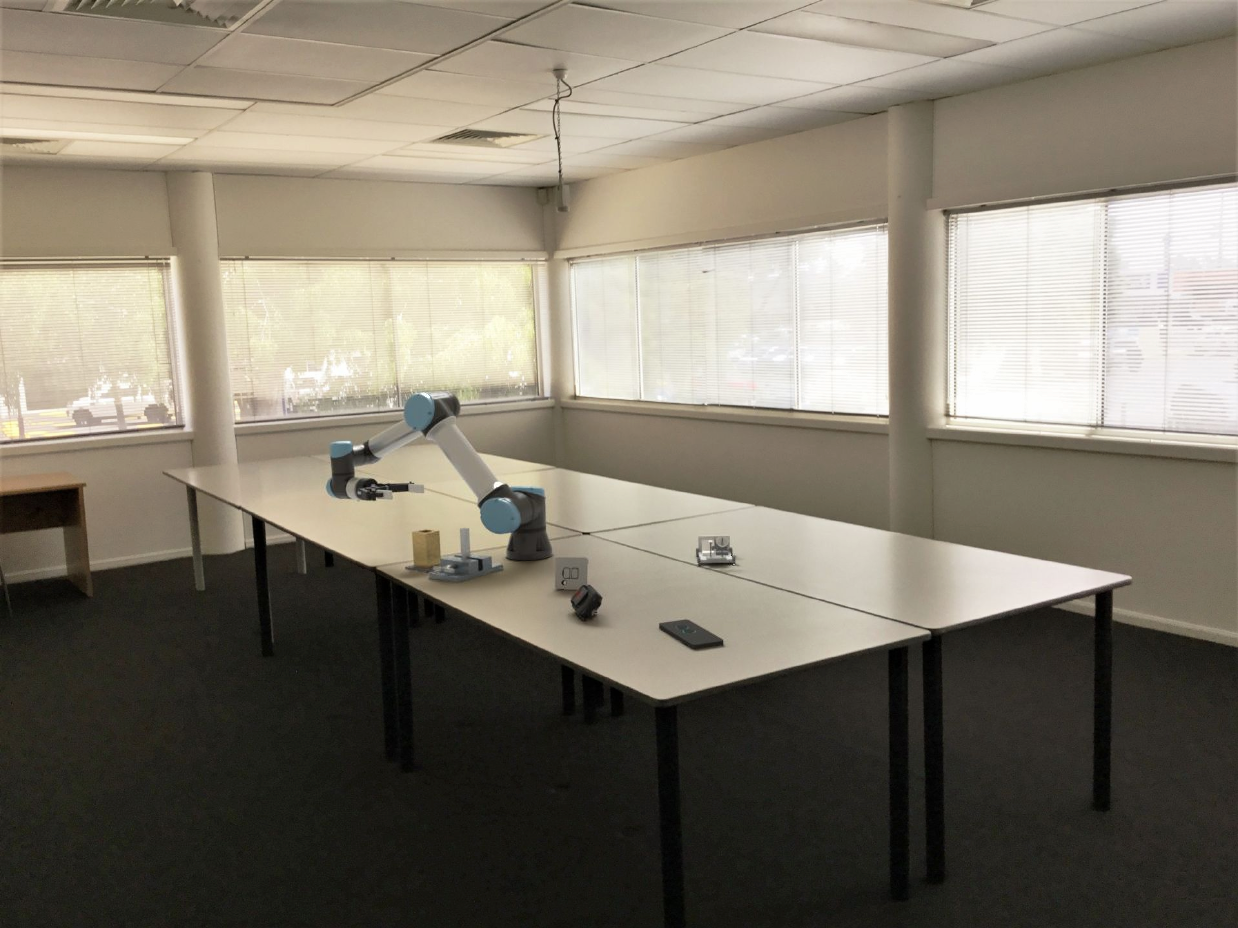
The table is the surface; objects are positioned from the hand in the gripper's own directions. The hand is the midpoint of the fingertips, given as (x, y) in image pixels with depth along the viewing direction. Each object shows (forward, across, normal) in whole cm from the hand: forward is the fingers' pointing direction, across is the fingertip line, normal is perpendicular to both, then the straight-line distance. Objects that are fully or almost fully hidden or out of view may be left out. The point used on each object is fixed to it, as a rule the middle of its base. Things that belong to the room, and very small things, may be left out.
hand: (407, 492), depth 333 cm
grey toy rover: (+84, -48, -26) cm, 101 cm away
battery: (+87, +21, -25) cm, 93 cm away
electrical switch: (+66, +1, -25) cm, 71 cm away
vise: (+26, +3, -24) cm, 36 cm away
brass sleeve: (+9, +2, -23) cm, 25 cm away
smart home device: (+120, +24, -26) cm, 125 cm away
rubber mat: (+9, +2, -23) cm, 25 cm away
